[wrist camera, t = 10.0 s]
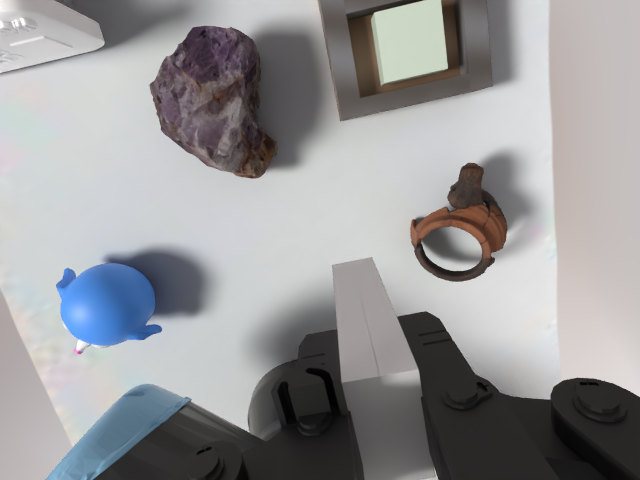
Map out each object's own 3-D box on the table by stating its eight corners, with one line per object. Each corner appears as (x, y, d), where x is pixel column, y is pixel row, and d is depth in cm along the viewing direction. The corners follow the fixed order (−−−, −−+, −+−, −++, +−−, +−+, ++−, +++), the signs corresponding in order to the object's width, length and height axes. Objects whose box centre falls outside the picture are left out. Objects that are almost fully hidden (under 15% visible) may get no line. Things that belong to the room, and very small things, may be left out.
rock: (278, 58, 36) (175, 56, 36) (268, 14, 27) (130, 10, 27) (278, 179, 38) (179, 178, 38) (268, 175, 29) (138, 172, 29)
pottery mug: (502, 250, 41) (499, 295, 35) (419, 241, 45) (403, 281, 39) (516, 148, 35) (515, 182, 29) (418, 149, 39) (399, 179, 33)
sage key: (440, 72, 33) (447, 68, 31) (380, 86, 33) (384, 83, 31) (433, 4, 31) (440, -4, 30) (370, 20, 32) (373, 12, 30)
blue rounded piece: (55, 305, 43) (-7, 344, 35) (102, 230, 40) (47, 254, 32) (142, 358, 45) (102, 407, 37) (192, 290, 42) (162, 327, 34)
